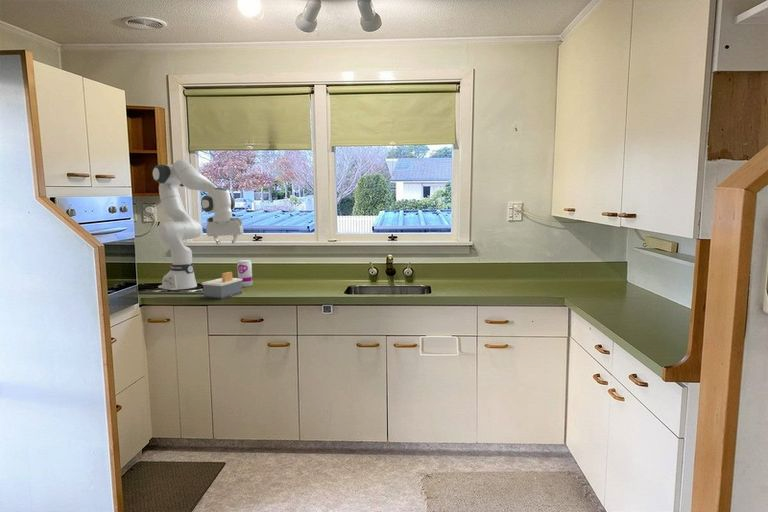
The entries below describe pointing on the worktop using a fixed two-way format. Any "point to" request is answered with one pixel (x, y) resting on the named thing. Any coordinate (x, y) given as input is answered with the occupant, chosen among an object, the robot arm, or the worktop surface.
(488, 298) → the worktop surface
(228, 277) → the lid
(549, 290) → the worktop surface
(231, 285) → the tub
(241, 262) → the supplement can
